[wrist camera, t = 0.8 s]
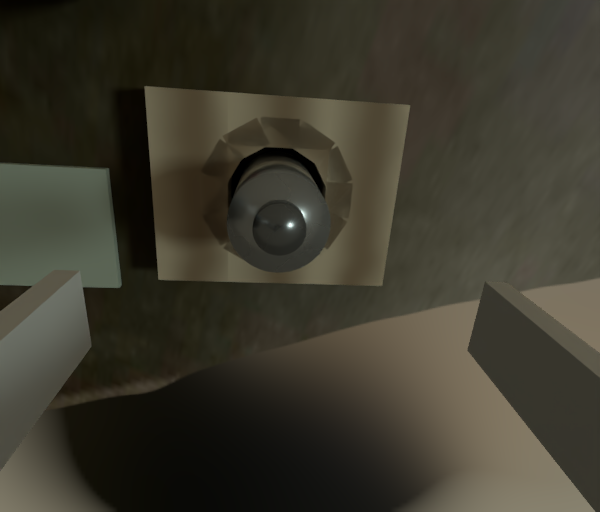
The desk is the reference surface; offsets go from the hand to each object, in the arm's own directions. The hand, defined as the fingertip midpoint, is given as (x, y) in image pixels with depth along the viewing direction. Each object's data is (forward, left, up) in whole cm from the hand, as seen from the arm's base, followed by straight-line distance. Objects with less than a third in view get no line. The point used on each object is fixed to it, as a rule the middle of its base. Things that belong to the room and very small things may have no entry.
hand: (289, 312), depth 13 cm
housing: (0, 0, -20) cm, 20 cm away
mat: (-18, -4, -20) cm, 28 cm away
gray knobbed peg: (0, 0, -20) cm, 20 cm away
